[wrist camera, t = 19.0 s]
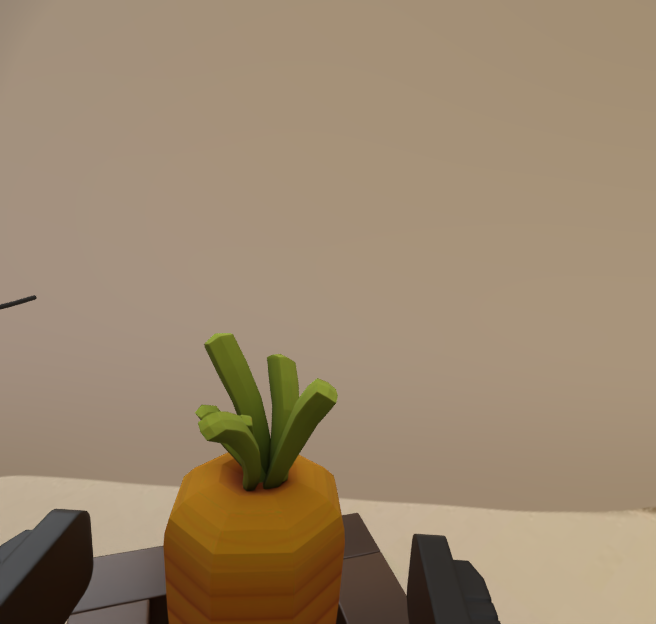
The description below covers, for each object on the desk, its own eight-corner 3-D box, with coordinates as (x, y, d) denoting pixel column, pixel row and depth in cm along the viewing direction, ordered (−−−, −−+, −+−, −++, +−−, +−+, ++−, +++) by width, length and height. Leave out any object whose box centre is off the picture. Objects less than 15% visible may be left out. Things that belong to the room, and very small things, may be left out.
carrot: (356, 831, 14) (402, 363, 11) (190, 946, 12) (179, 394, 8) (291, 682, 18) (308, 313, 15) (159, 745, 16) (143, 325, 13)
